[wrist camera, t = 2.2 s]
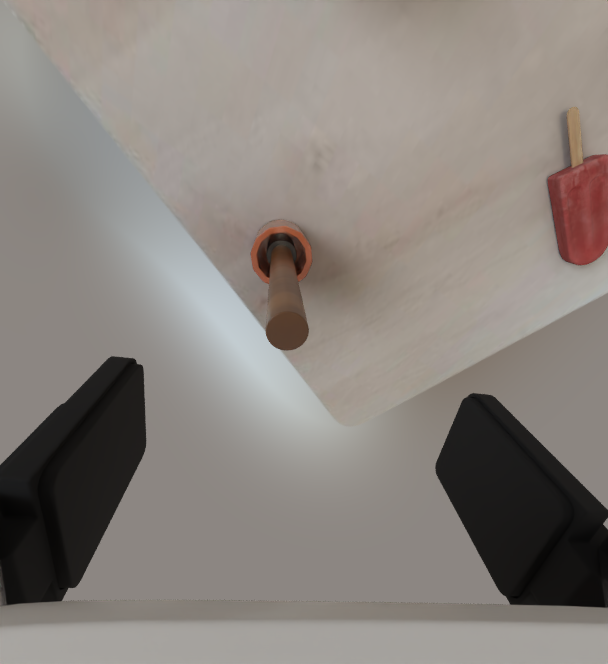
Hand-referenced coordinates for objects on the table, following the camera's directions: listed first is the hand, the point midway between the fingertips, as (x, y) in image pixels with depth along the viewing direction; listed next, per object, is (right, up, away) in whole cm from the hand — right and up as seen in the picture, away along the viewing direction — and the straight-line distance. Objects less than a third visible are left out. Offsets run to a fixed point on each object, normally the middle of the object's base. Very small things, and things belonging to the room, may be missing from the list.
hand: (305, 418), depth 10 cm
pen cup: (-2, +11, +23) cm, 25 cm away
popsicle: (+26, +16, +23) cm, 39 cm away
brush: (-2, +11, +22) cm, 25 cm away
